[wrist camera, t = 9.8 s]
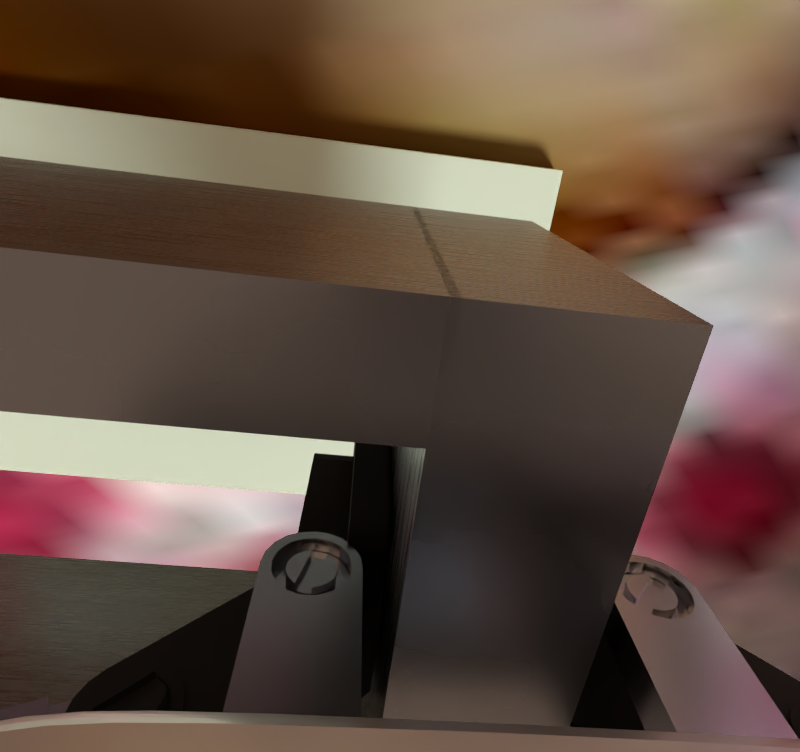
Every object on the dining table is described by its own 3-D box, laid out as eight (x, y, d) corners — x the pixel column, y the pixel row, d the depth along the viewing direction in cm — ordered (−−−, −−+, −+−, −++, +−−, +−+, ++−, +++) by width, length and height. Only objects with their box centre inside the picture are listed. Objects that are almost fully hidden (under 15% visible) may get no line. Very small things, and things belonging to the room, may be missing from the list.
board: (554, 168, 15) (563, 170, 15) (483, 495, 20) (487, 509, 19) (-54, 90, 14) (-77, 88, 14) (14, 456, 19) (-1, 469, 18)
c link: (531, 221, 10) (714, 326, 5) (447, 627, 14) (490, 946, 9) (-333, 115, 9) (-1458, 87, 3) (-163, 589, 13) (-567, 928, 7)
